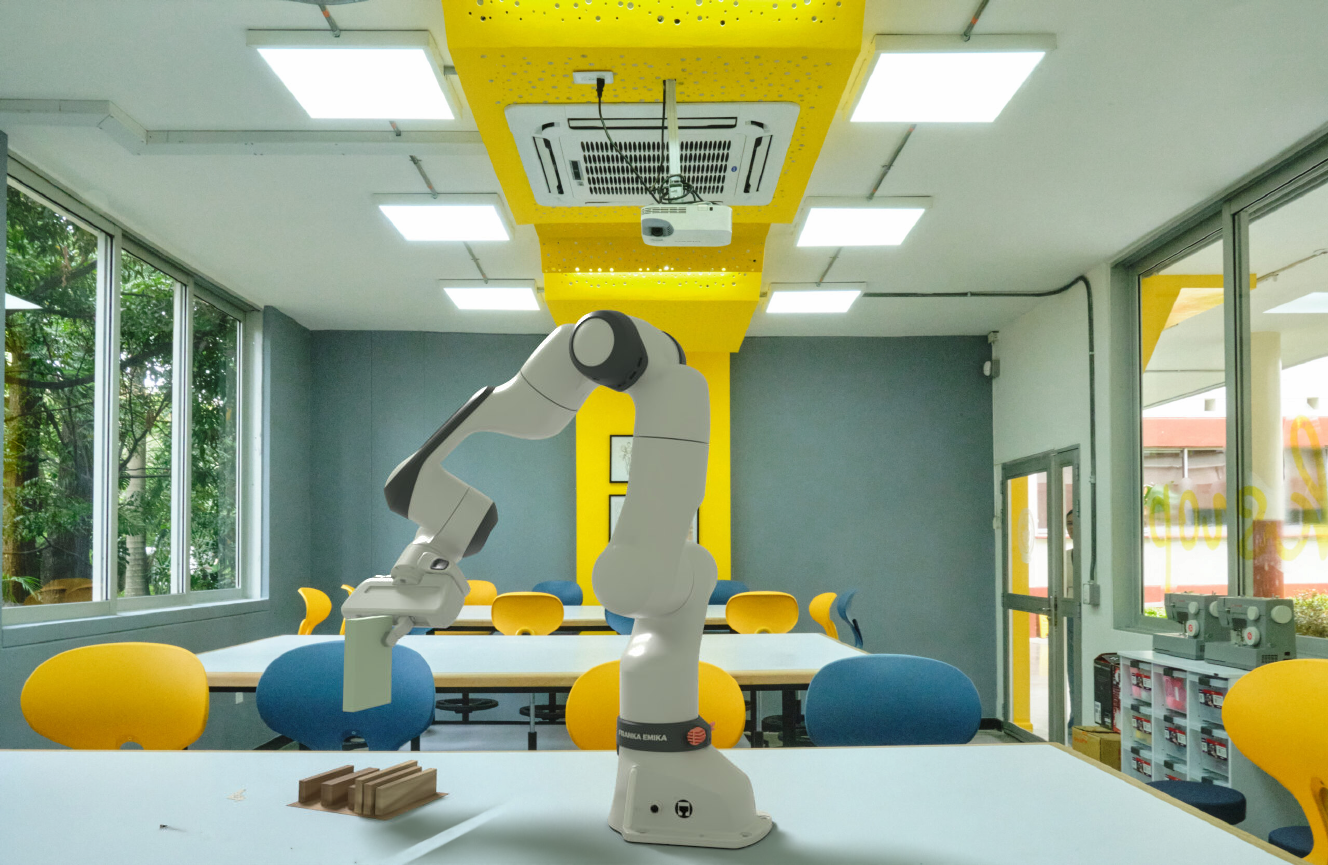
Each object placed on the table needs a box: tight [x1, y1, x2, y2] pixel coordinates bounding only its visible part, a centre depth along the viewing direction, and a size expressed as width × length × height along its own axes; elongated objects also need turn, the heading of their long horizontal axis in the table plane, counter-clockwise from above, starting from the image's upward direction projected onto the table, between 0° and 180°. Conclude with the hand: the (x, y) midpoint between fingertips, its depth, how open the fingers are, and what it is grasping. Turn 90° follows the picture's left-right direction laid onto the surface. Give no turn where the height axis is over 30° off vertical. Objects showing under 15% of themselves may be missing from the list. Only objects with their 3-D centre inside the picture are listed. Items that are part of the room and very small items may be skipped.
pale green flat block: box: [342, 615, 393, 713], centre depth 137 cm, size 2×8×13 cm, turn 157°
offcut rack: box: [285, 759, 450, 821], centre depth 134 cm, size 18×14×6 cm
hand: (377, 644), depth 139 cm, fingers closed on pale green flat block, 2 cm apart
